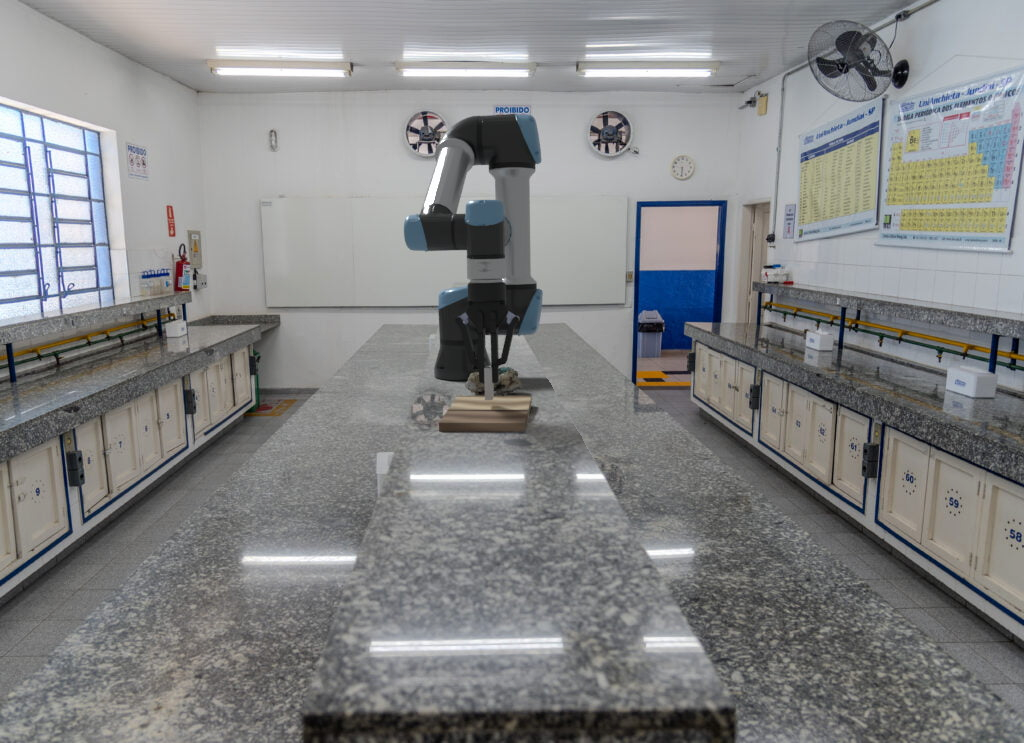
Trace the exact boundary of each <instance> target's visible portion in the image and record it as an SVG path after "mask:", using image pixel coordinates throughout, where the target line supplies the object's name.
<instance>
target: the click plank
mask: <svg viewBox="0 0 1024 743" xmlns="http://www.w3.org/2000/svg"><path fill="white" fill-rule="evenodd" d="M532 402H533V401H532V395H504V396H502V395H494V398H493V400H485V395H455V398H454V400H453V401H452V403H451V405H450V406H449V408H448V410H528V418H529V417H530V416H529V415H530V411H531V407H532Z"/></svg>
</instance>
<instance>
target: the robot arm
mask: <svg viewBox="0 0 1024 743" xmlns="http://www.w3.org/2000/svg"><path fill="white" fill-rule="evenodd" d="M541 151H542V150H541V144H540V135H539V130H538V126H537V122H536V118H535V117H534V116H533V115H531V114H524V113H523V114H522V113H509V114H492V115H472V116H469V117H466V118H464V119H461V120H459V121H458V122H456V123H454V124H453V125H452V126H451V127H450V128H449V129H448V130H447V131H446V132H444V134H443V135H442V136H441V138H440V139H439V141H438V142H437V144H436V148H435V151H434V158H435V166H434V169H433V172H432V174H431V178H430V182H429V185H428V187H427V191H426V194H425V197H424V200H423V204H422V207H421V210H420V213H415V214H410V215H408V216H406V218H405V220H404V223H403V238H404V242H405V245H406V247H407V248H408V249H409V250H410V251H419V252H422V251H423V252H425V253H426V252H441V251H466V275H467V276H466V278H467V279H468V280H470V281H469V282H468V283H467V285H464V286H458V287H453V288H447V289H443V290H442V291H440V292H439V294H438V303H437V304H438V305H437V306H438V307H437V310H438V328H439V330H438V331H439V350H438V353H437V356H436V359H435V360H436V361H435V363H434V368H433V371H434V377H435V378H436V379H440V380H448V381H468V378H469V376H470V374H471V373H475V372H478V373H479V381H480V383H485V394H484V396H485V400H493V398H494V396H495V395H494V394H495V392H494V383H497V382H498V380H499V368H500V366H503V365H505V364H506V363H507V362H508V360H509V359H508V358H509V354H510V351H511V346H512V341H513V337H514V336H518V337H520V336H531V335H535V333H537V331H538V329H539V326H540V321H541V315H542V308H543V296H544V294H543V292H544V291H543V290H542V289H540V288H537V287H538V286H537V285H538V284H537V283H538V282H537V280H535V278H534V277H533V276H532V275H531V269H532V268H531V215H530V214H531V210H530V208H531V207H530V205H531V204H530V203H531V202H530V200H531V199H530V198H531V197H530V196H531V195H530V180H531V178H532V176H533V175H534V174H535V173H536V165H539V164H541V163H542V152H541ZM473 166H488V173H489V174H490V175H491V176H492V177H493V179H494V188H495V189H494V190H495V193H494V194H495V197H494V198H495V199H474V200H469V201H467V202H466V203H465V213H457V212H458V208H459V205H460V202H461V201H460V200H461V197H462V194H463V189H464V185H465V182H466V177H467V174H468V173H469V171H470V170H471V169H472V168H473ZM486 336H490V357H489V354H488V350H487V348H486V347H487V346H486ZM499 336H505V337H504V343H503V347H502V351H501V355H500V357H499Z"/></svg>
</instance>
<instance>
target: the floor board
mask: <svg viewBox="0 0 1024 743" xmlns="http://www.w3.org/2000/svg"><path fill="white" fill-rule="evenodd" d="M528 419H529V417H528V410H449V409H447V411H446V412H445V414H444V415H443V416H442V418H441V419H440V420H439V421H438V432H526V428H527V424H528V422H529V420H528Z"/></svg>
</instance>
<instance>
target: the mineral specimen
mask: <svg viewBox="0 0 1024 743" xmlns="http://www.w3.org/2000/svg"><path fill="white" fill-rule="evenodd" d="M464 386H465V388H466V389H467V390H469V391H470V392H471V393H472V394H473V393H474V394H475V396H485V383H480V381H479V373H478V372H475V373H471V374H470V376H469V378H468V380H466V382H464ZM516 390H523V383H522V382H521V380H520V379H519V372H518V371H517V370H515V369H514V368H512V367H510V366H504V367H503V366H501V367H499V380H498V382H497V383H494V393H497V394H499V395H501V396H502V395H504V396H507V394H510V393H513V392H515V391H516Z"/></svg>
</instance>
